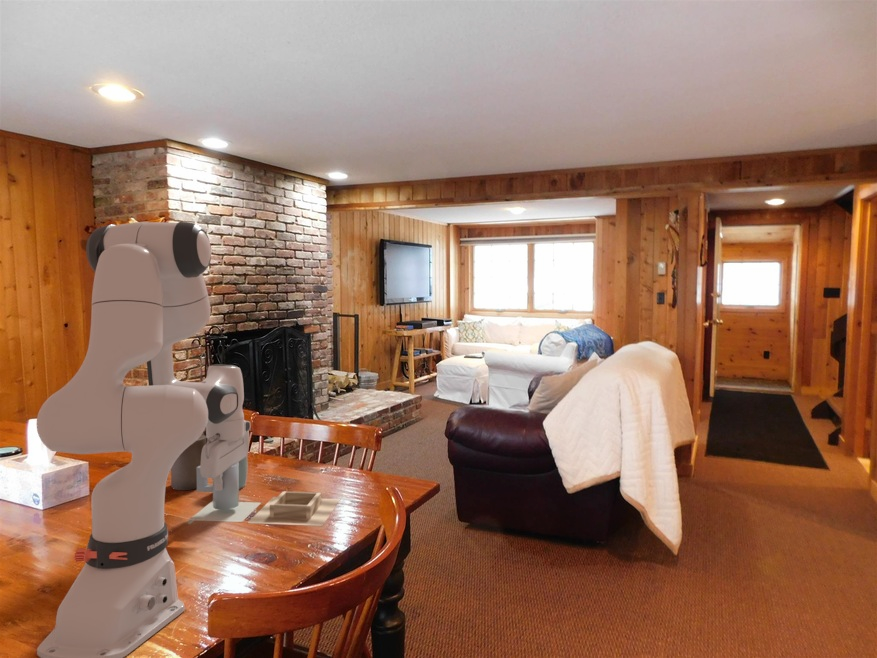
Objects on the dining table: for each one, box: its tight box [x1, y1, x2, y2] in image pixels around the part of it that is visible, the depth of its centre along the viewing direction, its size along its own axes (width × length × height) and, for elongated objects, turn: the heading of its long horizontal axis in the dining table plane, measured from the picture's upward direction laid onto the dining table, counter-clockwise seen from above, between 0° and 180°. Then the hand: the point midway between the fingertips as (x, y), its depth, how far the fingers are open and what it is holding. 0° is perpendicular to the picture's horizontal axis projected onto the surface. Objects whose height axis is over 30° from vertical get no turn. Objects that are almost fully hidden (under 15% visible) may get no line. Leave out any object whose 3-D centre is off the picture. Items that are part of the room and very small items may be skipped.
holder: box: [247, 490, 341, 527], centre depth 148 cm, size 18×18×4 cm
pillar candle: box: [170, 434, 207, 491], centre depth 169 cm, size 10×10×15 cm
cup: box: [239, 455, 248, 490], centre depth 165 cm, size 8×8×10 cm
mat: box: [187, 500, 262, 525], centre depth 147 cm, size 13×13×1 cm
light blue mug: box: [196, 463, 240, 510], centre depth 147 cm, size 6×10×10 cm, turn 86°
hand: (225, 485), depth 147 cm, fingers closed on light blue mug, 6 cm apart
